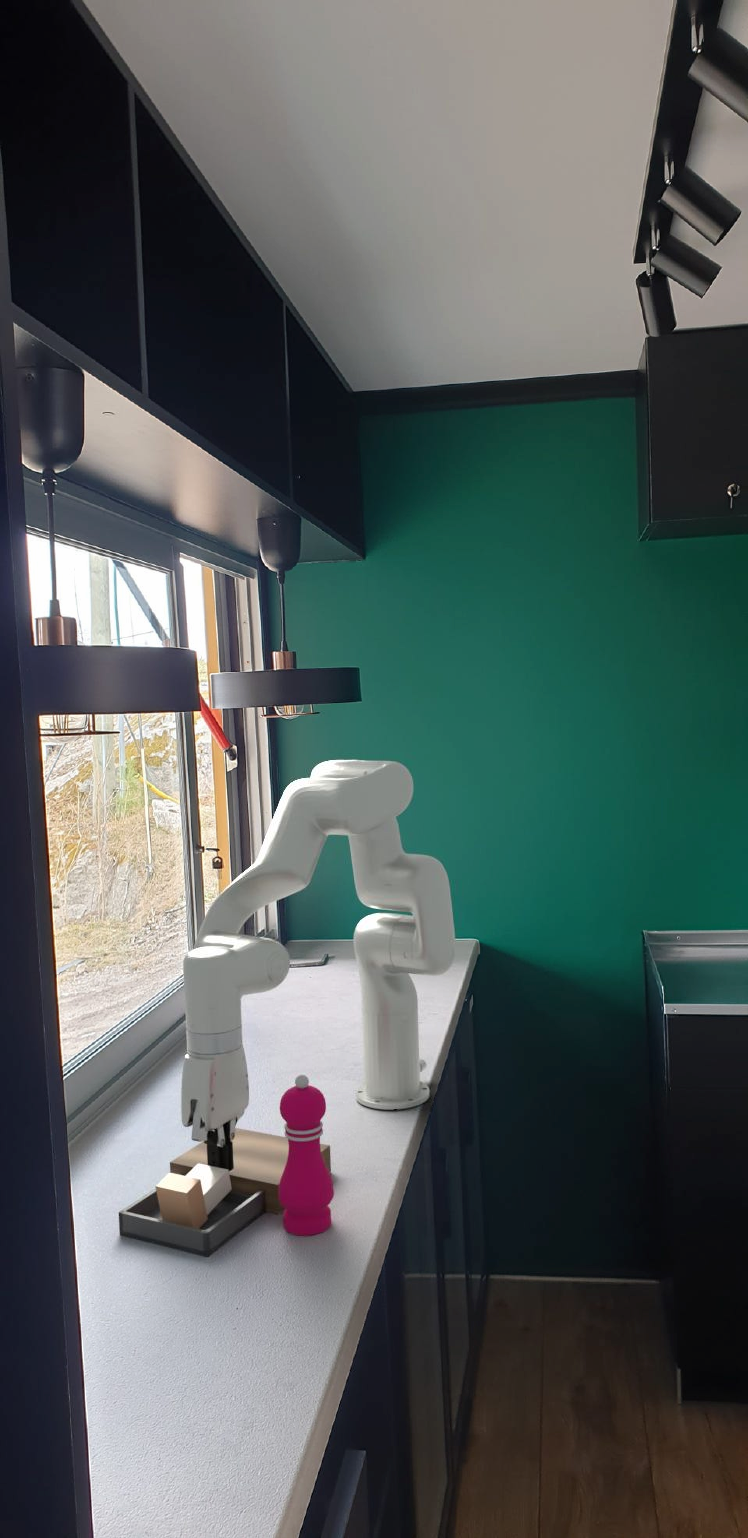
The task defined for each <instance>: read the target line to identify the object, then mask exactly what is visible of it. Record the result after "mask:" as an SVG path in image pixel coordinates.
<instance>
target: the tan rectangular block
mask: <svg viewBox="0 0 748 1538" xmlns="http://www.w3.org/2000/svg"><path fill="white" fill-rule="evenodd" d="M154 1188H156V1192H157V1197H158V1202H159V1207H160V1212H161V1217H162V1220H164V1221H168V1222H172V1223H176V1224H180V1225H184V1226H189V1227H193V1228H197V1229H199V1228H200V1227H201V1226H202V1225H203V1224H204V1223H205V1222H206V1221H207V1220H208V1217H207V1212H206V1207H205V1201H204V1196H203V1191H202V1185H201V1180H200V1179H197V1178H192V1177H187V1176H183V1175H178V1174H174V1173H170V1172H169V1173H167V1174H166V1175H165V1176H164V1177H163V1179H161V1180H160V1181H159V1182H158V1183H157V1184H156V1185H155V1187H154Z"/></svg>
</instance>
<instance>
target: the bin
mask: <svg viewBox="0 0 748 1538" xmlns="http://www.w3.org/2000/svg"><path fill="white" fill-rule="evenodd" d="M178 1175H183V1176H184V1173H181V1172H180V1173H179V1174H178ZM265 1213H266V1211H265V1192H264V1190H259V1191H258V1192H257V1193H255V1194H254V1195H250V1194H246V1193H241V1192H237V1191H232V1190H230V1192H229V1193H228V1194H227V1195H226V1196H225V1197H224V1198H223V1199H222V1200H221V1201H220V1202H219V1203H218V1204H217V1205H216V1207H215V1208H214V1209H213V1210H212V1211H211V1212H210V1213H209V1214H208V1215H207V1217H208V1220H207V1221H206V1222H205V1223H204V1224H203V1225H202V1226H201V1227H200V1228H199V1229H197V1228H193V1227H189V1226H184V1225H180V1224H176V1223H172V1222H168V1221H164V1220H162V1217H161V1212H160V1207H159V1202H158V1197H157V1192H156V1187H154V1189H153V1190H151V1191H149V1192H148V1193H147V1194H145V1195H143V1196H142V1197H140V1198H138V1199H137V1200H136V1201H134V1202H132V1203H131V1204H129V1205H128V1206H126V1207H125V1208H122V1210H120V1211H118V1227H119V1235H120V1236H124V1237H125V1238H126V1237H127V1238H131V1239H134V1240H139V1241H142V1242H147V1243H150V1244H154V1245H159V1246H162V1247H166V1248H171V1249H175V1250H178V1251H182V1252H187V1253H191V1254H195V1255H198V1256H202V1257H206V1258H209V1257H210V1256H211V1255H213V1254H214V1253H216V1251H218V1250H219V1249H220V1248H221V1247H223V1246H224V1245H225V1244H227V1243H228V1242H229V1241H230V1240H232V1239H233V1238H234V1237H236V1236H237V1235H238V1234H239V1233H241V1232H242V1231H243V1230H245V1229H246V1228H247V1227H248V1226H249V1225H251V1224H252V1223H254V1221H256V1220H257V1219H258V1218H260V1217H261V1216H262V1215H264V1214H265Z"/></svg>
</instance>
